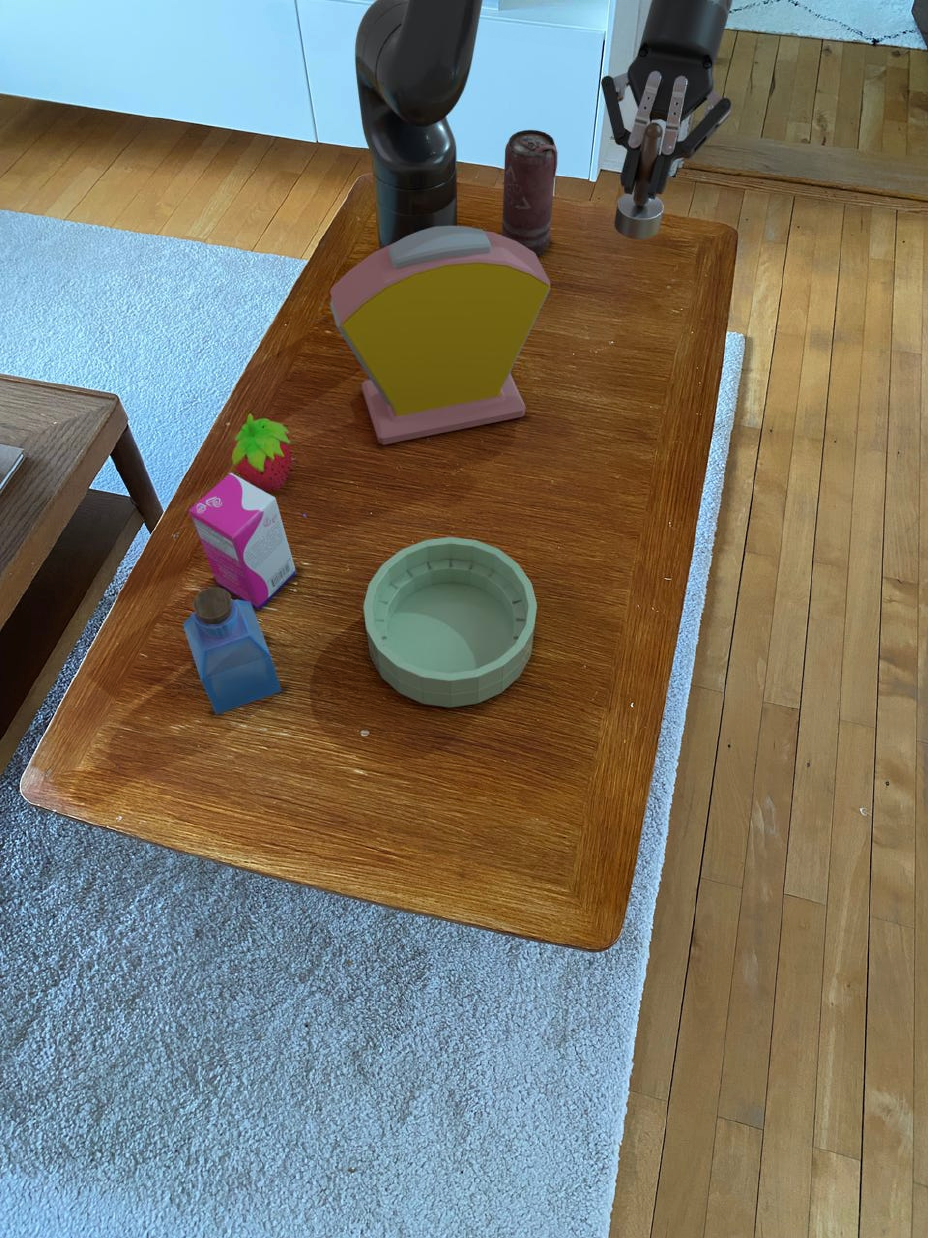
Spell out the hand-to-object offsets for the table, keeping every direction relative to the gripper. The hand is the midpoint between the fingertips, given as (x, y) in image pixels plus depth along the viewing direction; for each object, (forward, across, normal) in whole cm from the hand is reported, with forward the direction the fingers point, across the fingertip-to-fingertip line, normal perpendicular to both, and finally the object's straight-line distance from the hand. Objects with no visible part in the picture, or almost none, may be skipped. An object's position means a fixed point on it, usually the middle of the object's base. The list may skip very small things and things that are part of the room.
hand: (639, 193), depth 97 cm
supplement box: (+46, +25, +16) cm, 54 cm away
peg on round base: (+2, 0, -5) cm, 5 cm away
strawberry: (+38, +29, +8) cm, 48 cm away
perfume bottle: (+53, +21, +23) cm, 62 cm away
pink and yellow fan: (+25, +16, -5) cm, 30 cm away
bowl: (+46, +4, +16) cm, 48 cm away
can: (+3, +16, -26) cm, 31 cm away
